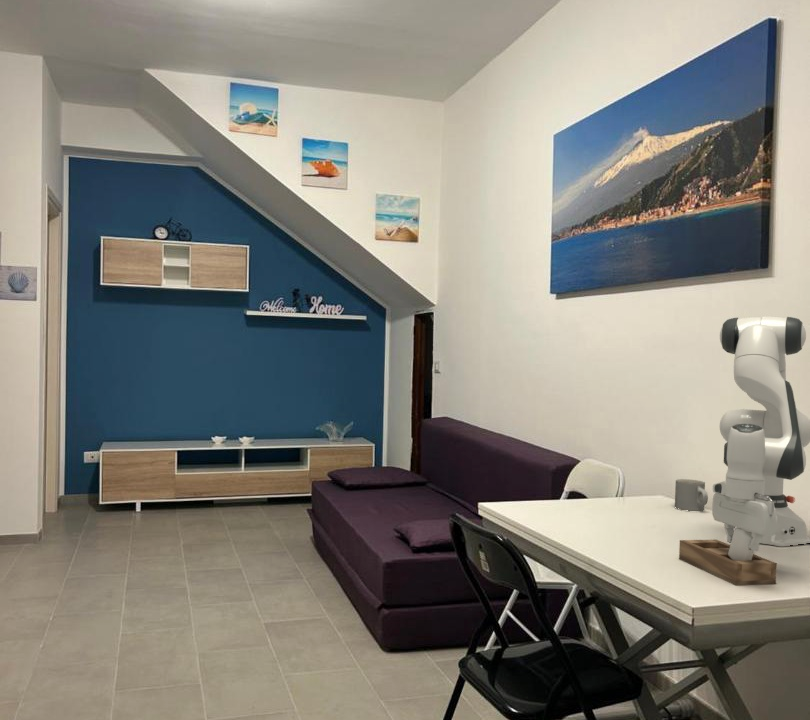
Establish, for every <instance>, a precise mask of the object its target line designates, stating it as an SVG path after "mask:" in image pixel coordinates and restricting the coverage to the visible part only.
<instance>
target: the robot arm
mask: <svg viewBox="0 0 810 720" xmlns="http://www.w3.org/2000/svg"><path fill="white" fill-rule="evenodd" d="M806 338H807V332H806V329H805V326H804V324H803V322H802V321H801V320H800V319H799V318H796V317H792V316H787V317H781V316H773V315H771V316H770V315H769V316H768V315H762V316H751V317H750V316H749V317H740V318H739V317H732V318H728V319H726V320H725V321H724V322H723V323H722V327H721V328H720V332H719V342H720V345H721V348H722V349H723V350H724V351H725V352H726V353H729V354H731V355H734V361H733V378H734V381H735V383H736V385H737V386H738V387H739V389H740V390H741V391H743V392H744V393H745V394H746V395H747V396H748V397H749V398H750V399H751V400H753V401H754V402H756V403H758V404H759V405H762V406H763V407H764V408H765V410H761V409H745V408H743V409H732V410H727V411H726V412H725V413H724V414H722V417H721V418H720V421H719V431H720V434H721V437H722V438H723V439H724V440H725V441H726V442H725V443H724V446H723V464H724V465H725V466H727V470H726V474H725V480H722V481H720V482H716V483H713V484H712V492H713V493H714V494H713V496H712V506H711V509H712V511H711V515H712V517H713V520H714V521H716V522H719V523H722V524H724V525H723V528H724V530H725V534H726V540H727V543H730V544H731V541H732V537H733V534H734V530H735V529H736V528H741V529H744V530H747V531H750V532H752V537H753V539H752V541H751V543H749V547H748V549H749V550H751V551H754V552H758V551H760V544H764V545H771V546H776V547H790V545H793V546H799V545H798V544H804V545H807V544H806V543H810V536H808V532H807V531H808V528H807V525H806V522H805V520H804V519H803V518H801V517H800V516H799V515H798V514H797V513H795V511H793V510H792V509H791V508H790V507H788V506H789V505H788V503H790V504H794V503H795V502H796V498H795V496H791V495H785V494H784V481H785V480H790V481H791V480H795V479H796V478H797V477H799V476H801V475H802V474H803V473H804V472H805V469H806V465H807V457H806V452H805V448H806V447H807V446H808V445H809V444H810V418H809V417H808V416H806V415H805V414H804V413H802V412H801V411H800V410H799V409H798V408H797V406H796V405H797V404H796V401H795V396H794V390H793V388H792V385H791V383H790V381H788V380H787V373H786V366H787V365H786V356H789V355H794V354H797V353H799V352H800V351H802V349H803V346H804V345H805V342H806Z"/></svg>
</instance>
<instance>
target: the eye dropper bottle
mask: <svg viewBox="0 0 810 720" xmlns="http://www.w3.org/2000/svg"><path fill="white" fill-rule="evenodd" d="M752 539H753V537H752V532H750V531H747V530H744V529H741V528H737V527H735V529H734V534H733V537H732V541H731V543H730V544H729V545H730V548H729V552H728V555H729V557H730V558H731V559H732V560H733V561H749V560H752V557H753V554H755V553H754V552H755V551H751V550H749V549H748V547H749V543H751V541H752Z"/></svg>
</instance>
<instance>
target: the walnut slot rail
mask: <svg viewBox="0 0 810 720" xmlns="http://www.w3.org/2000/svg"><path fill="white" fill-rule="evenodd" d="M730 545H731V544H728V543H726V542H724V541H722V540H718V539H681V540H679V552H678V553H679V554H678V555H679V556H678V559H679V560H680V561H683V562H684V563H687V564H689V565H691V566H693V567H696V568H697V569H700V570H702V571H704V572H706V573H709V574H711V575H713V576H714V577H717V578H719V579H721V580H723V581H726V582H728V583H730V584H732V585H734V586H749V585H750V586H752V585H753V586H756V585H757V586H758V585H776V584H777V565H778V564H777V562H774V561H773V560H770V559H767V558H764V557H761V556H759V555H756V554H755V553H753V557H752V560H749V561H733V560H732V559H731V558H730V557H729V555H728V552H729V548H730Z"/></svg>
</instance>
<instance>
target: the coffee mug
mask: <svg viewBox="0 0 810 720" xmlns="http://www.w3.org/2000/svg"><path fill="white" fill-rule="evenodd" d="M705 488H706V482H705V481H703V480H697V479H687V478H681V479H678V478H677V479H676V480H675V493H674V497H675V498H674V508H675V507H676V508H679V509H682V510H688V511H687V512H690V511H702V512H704V511H705V506H706V505H707V504H708V500H709V496H708V495H709V494H708V492H707V490H706V489H705ZM676 508H675V509H676ZM682 510H681V511H682ZM703 510H704V511H703Z"/></svg>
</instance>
